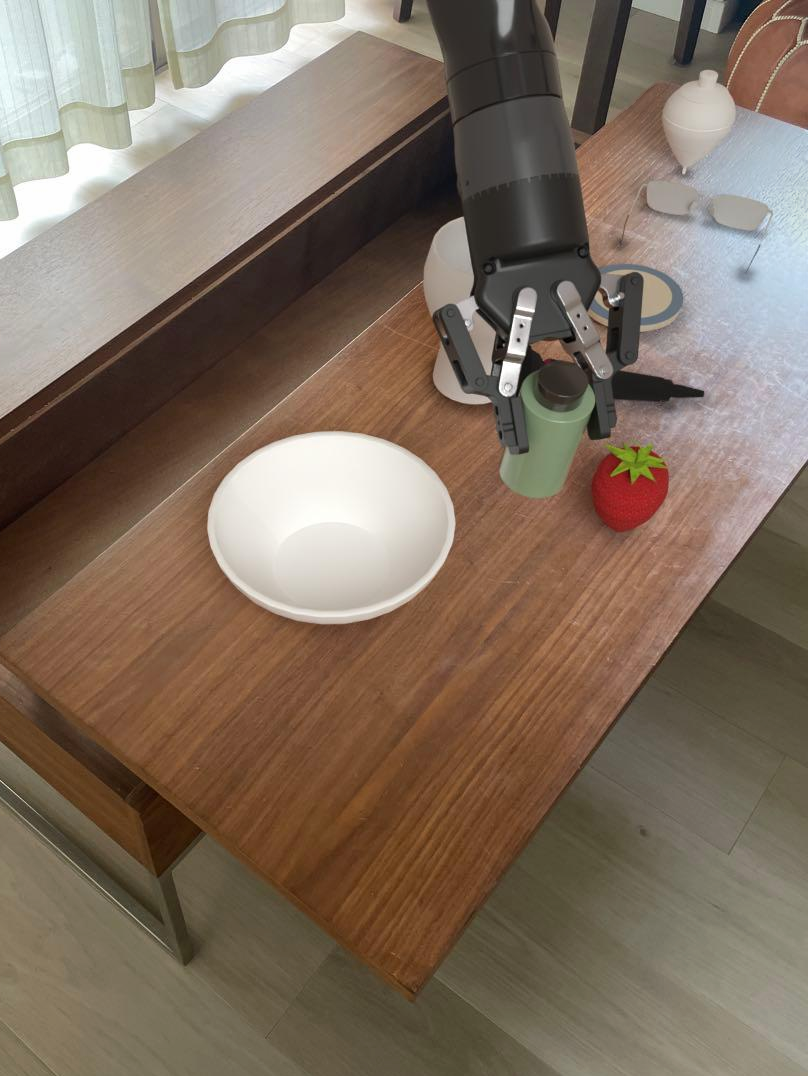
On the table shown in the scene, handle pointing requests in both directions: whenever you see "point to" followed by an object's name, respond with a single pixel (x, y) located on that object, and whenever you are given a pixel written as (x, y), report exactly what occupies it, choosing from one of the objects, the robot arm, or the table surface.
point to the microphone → (621, 382)
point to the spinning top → (698, 118)
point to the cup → (450, 285)
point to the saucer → (645, 297)
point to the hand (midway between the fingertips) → (560, 445)
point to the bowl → (331, 526)
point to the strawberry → (629, 486)
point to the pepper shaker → (549, 429)
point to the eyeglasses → (724, 207)
